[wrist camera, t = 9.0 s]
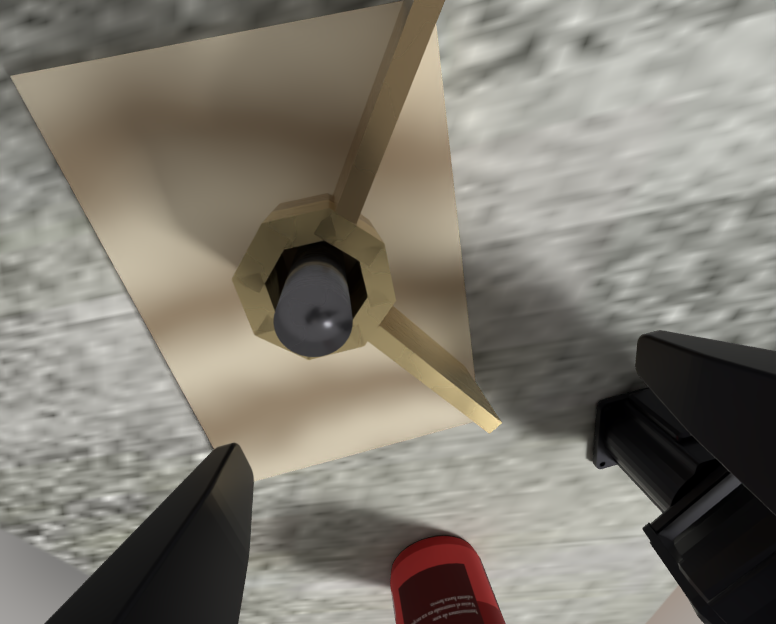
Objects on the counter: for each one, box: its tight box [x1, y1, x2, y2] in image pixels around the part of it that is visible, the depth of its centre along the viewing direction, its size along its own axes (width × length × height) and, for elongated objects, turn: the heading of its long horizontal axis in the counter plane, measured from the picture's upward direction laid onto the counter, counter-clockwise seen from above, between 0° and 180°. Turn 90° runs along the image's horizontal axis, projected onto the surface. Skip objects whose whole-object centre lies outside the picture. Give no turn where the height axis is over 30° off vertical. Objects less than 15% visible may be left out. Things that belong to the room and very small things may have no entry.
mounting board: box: [10, 0, 475, 481], centre depth 19 cm, size 22×16×1 cm
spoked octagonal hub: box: [232, 0, 502, 434], centre depth 15 cm, size 18×9×5 cm, turn 11°
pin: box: [273, 240, 353, 357], centre depth 14 cm, size 2×2×8 cm
